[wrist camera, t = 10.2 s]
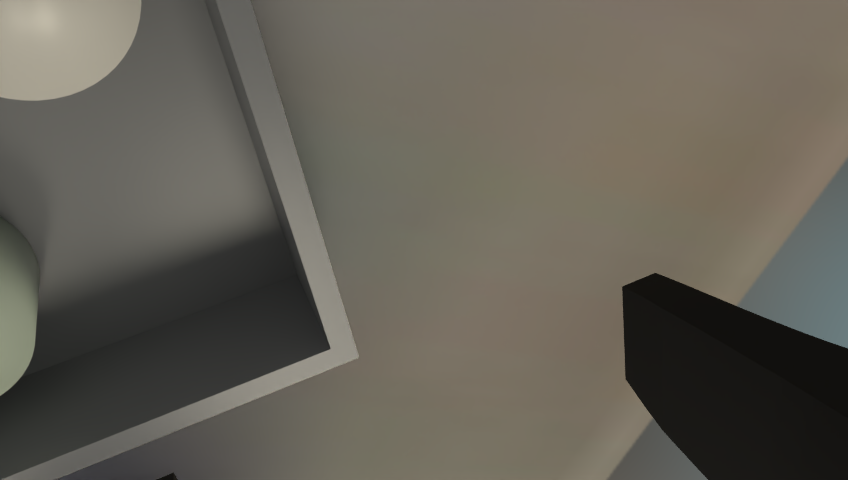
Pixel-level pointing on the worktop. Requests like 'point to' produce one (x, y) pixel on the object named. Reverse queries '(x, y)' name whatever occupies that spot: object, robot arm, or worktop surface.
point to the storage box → (148, 229)
